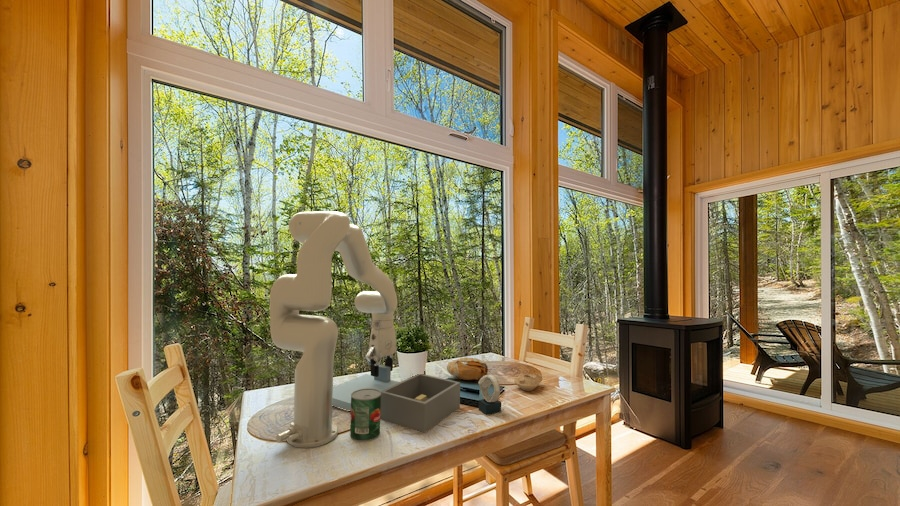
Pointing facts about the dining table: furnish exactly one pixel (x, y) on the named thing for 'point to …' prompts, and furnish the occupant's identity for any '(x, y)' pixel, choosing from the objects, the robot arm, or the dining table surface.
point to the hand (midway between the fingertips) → (381, 372)
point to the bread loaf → (468, 368)
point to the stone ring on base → (489, 403)
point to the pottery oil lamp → (528, 381)
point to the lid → (361, 386)
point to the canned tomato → (365, 415)
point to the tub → (420, 402)
